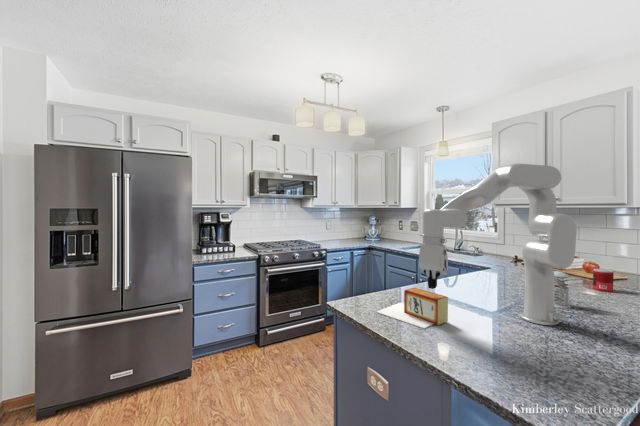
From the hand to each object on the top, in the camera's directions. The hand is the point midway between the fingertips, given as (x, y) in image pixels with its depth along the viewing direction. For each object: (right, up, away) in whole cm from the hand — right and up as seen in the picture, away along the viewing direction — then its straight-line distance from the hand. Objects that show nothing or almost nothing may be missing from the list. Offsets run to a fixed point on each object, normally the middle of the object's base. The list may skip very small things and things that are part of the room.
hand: (432, 287), depth 114 cm
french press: (+65, -13, +22) cm, 70 cm away
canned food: (+109, -13, +44) cm, 118 cm away
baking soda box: (+3, -8, -3) cm, 9 cm away
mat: (-6, -13, +7) cm, 16 cm away
